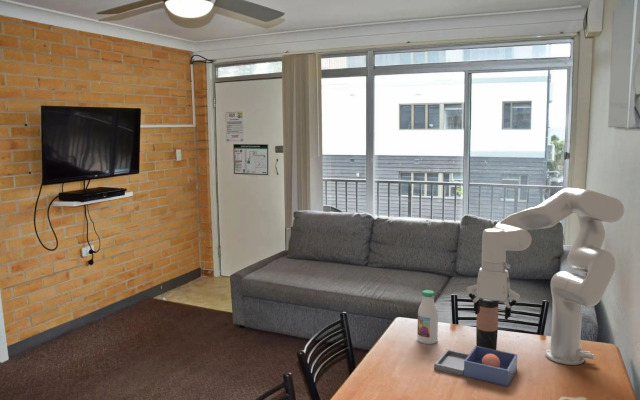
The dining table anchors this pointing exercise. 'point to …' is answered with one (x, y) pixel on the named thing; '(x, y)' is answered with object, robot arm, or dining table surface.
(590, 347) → the dining table surface
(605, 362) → the dining table surface
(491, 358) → the ball
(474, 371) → the blue storage bin
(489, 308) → the travel mug
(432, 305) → the milk bottle
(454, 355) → the tray
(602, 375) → the dining table surface
